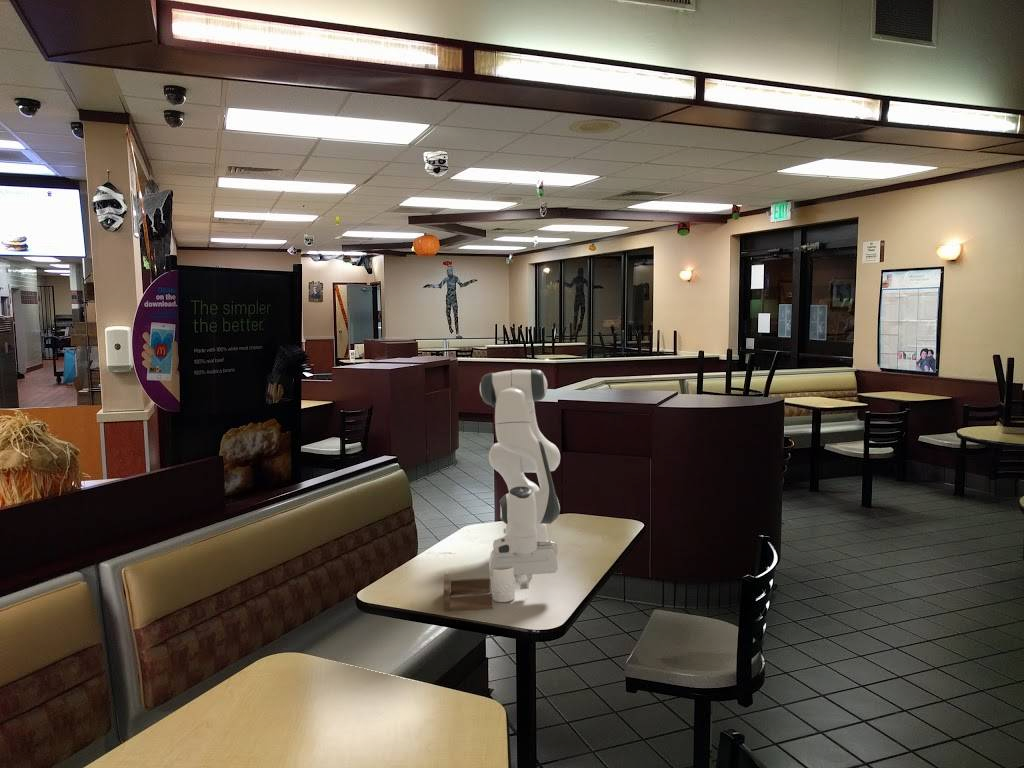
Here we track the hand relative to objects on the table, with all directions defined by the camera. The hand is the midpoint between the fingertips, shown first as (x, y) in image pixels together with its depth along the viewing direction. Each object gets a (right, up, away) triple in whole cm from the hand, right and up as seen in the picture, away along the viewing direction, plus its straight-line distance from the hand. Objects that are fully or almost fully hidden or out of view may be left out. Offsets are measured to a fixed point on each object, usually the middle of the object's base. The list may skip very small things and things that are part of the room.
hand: (523, 588), depth 200 cm
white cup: (-6, -3, 0) cm, 7 cm away
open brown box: (-16, -3, -1) cm, 16 cm away
